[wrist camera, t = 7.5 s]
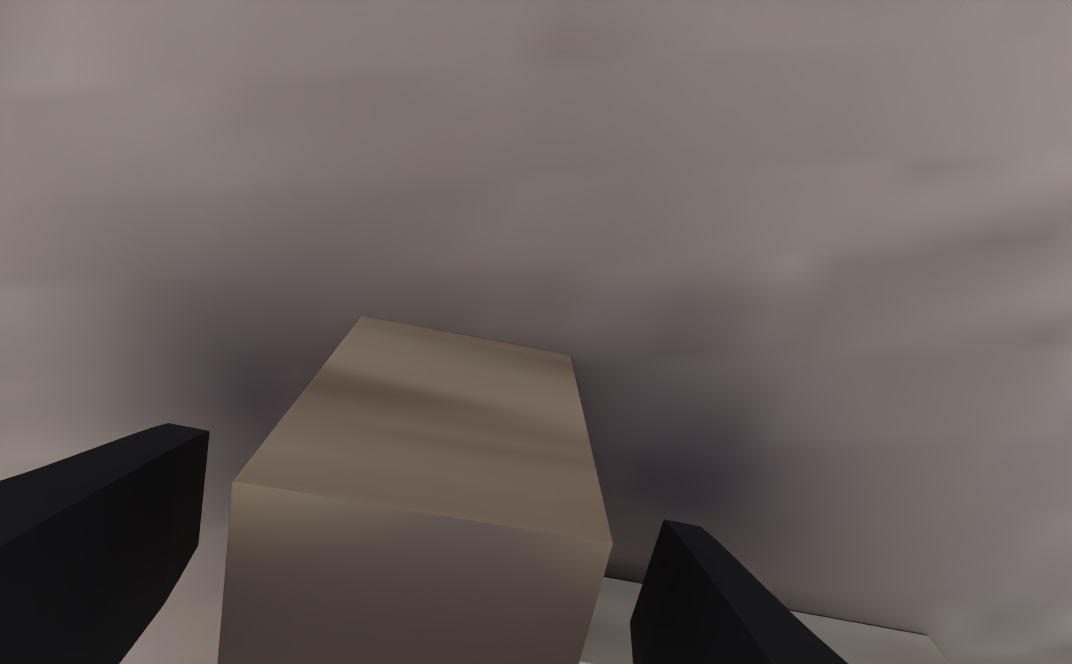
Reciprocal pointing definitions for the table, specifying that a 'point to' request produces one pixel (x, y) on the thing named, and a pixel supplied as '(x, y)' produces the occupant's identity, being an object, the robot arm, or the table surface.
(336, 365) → the wooden mallet
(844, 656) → the plank
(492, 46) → the table surface
